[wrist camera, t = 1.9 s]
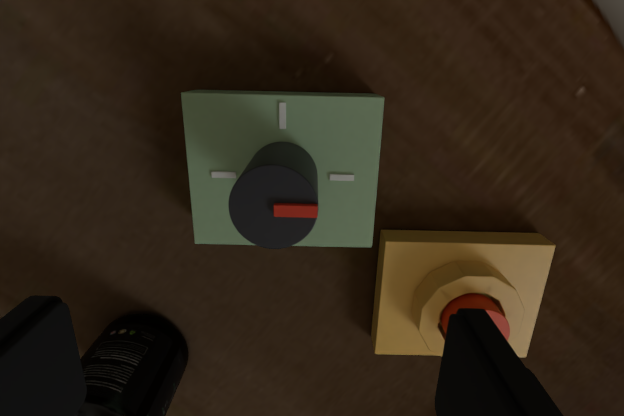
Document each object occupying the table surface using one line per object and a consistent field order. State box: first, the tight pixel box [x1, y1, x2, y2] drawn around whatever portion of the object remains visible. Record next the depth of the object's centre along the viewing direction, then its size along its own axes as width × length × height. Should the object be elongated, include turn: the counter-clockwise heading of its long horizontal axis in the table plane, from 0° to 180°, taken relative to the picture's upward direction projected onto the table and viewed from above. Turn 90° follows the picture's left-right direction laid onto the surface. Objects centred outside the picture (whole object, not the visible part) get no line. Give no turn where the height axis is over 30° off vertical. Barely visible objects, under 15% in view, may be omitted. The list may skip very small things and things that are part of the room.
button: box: [441, 294, 510, 341], centre depth 24 cm, size 4×4×2 cm
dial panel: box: [181, 90, 384, 247], centre depth 23 cm, size 11×9×3 cm
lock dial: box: [228, 142, 318, 249], centre depth 19 cm, size 4×4×6 cm
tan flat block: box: [371, 230, 555, 357], centre depth 26 cm, size 11×9×4 cm
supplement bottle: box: [75, 314, 188, 416], centre depth 24 cm, size 7×7×12 cm
